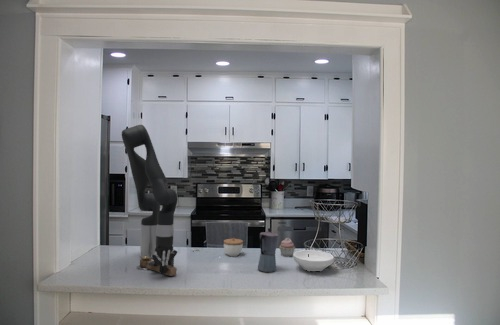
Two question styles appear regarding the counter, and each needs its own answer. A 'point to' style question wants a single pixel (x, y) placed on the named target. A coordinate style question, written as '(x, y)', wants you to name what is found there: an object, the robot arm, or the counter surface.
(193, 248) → the mounting bracket
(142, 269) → the pin base
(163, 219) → the robot arm
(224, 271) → the counter surface
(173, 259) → the keeper
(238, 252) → the lidded jar
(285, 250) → the cupcake
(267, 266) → the moka pot
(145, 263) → the walnut link
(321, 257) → the bowl
